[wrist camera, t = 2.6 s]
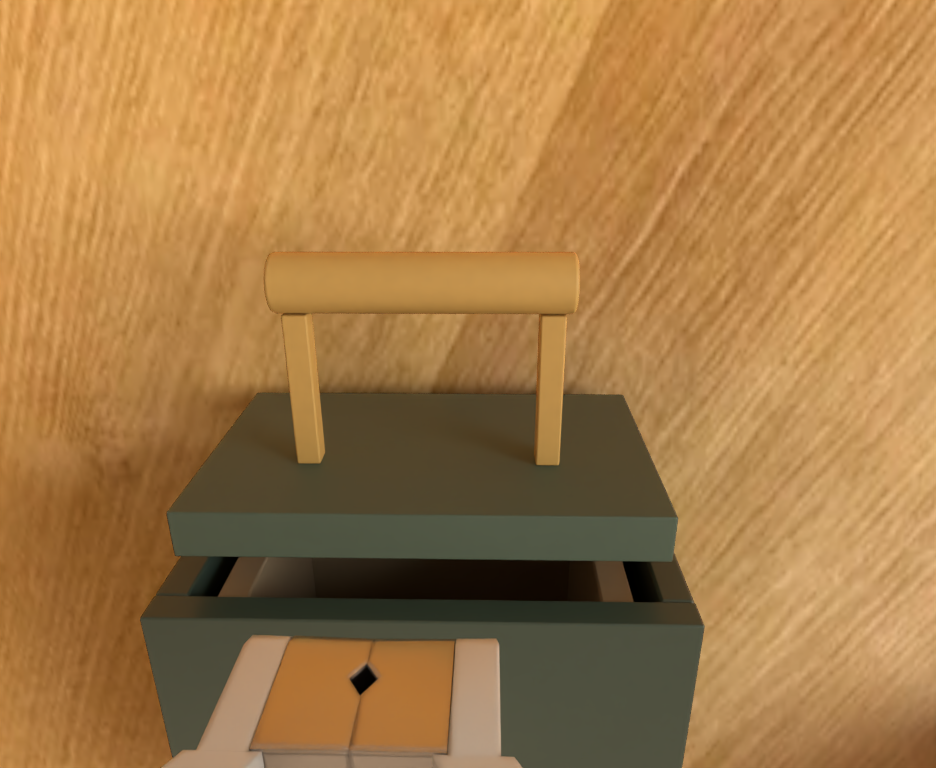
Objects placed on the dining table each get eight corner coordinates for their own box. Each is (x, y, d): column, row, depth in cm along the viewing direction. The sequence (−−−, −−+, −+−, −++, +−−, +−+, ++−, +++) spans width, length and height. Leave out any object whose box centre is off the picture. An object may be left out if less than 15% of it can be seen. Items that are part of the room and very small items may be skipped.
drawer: (234, 220, 20) (118, 280, 14) (638, 220, 20) (710, 280, 13) (299, 711, 27) (243, 898, 21) (594, 716, 27) (627, 907, 21)
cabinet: (255, 441, 24) (138, 618, 16) (631, 444, 23) (705, 626, 15) (298, 752, 29) (228, 998, 21) (601, 758, 29) (644, 1010, 21)
